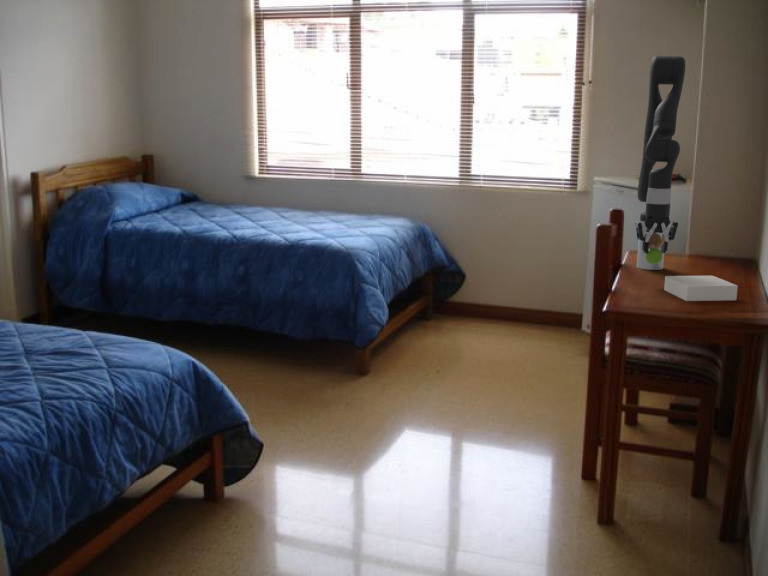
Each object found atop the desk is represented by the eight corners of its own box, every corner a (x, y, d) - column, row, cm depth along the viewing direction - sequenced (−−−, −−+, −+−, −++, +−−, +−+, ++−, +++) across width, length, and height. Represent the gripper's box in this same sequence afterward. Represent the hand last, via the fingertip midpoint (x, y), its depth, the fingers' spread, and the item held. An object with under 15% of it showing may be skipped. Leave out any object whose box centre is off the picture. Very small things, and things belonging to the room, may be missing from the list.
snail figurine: (666, 266, 267) (668, 229, 265) (645, 265, 269) (647, 229, 266) (664, 262, 272) (666, 227, 270) (644, 262, 274) (645, 227, 271)
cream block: (664, 291, 265) (665, 276, 264) (711, 290, 267) (712, 275, 266) (686, 302, 250) (687, 286, 249) (736, 301, 251) (737, 285, 250)
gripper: (674, 200, 270) (670, 250, 274) (632, 200, 269) (629, 251, 273) (684, 203, 263) (680, 254, 267) (641, 203, 262) (637, 255, 266)
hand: (654, 252), depth 270 cm, fingers closed on snail figurine, 5 cm apart
